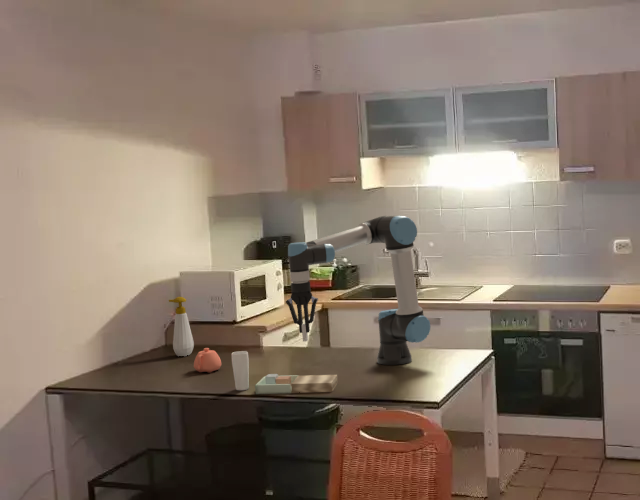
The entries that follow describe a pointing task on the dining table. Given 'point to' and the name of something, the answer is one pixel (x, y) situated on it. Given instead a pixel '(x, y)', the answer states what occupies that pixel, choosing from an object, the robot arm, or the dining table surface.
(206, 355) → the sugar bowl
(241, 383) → the drinking glass
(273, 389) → the tray
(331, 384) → the board
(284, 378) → the salmon pink block
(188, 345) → the soap bottle
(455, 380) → the dining table surface
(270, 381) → the tile grey
